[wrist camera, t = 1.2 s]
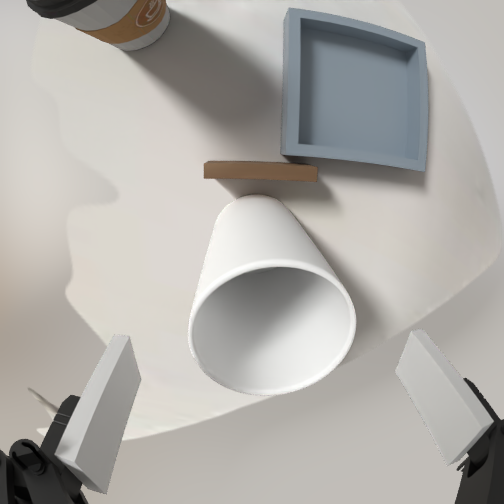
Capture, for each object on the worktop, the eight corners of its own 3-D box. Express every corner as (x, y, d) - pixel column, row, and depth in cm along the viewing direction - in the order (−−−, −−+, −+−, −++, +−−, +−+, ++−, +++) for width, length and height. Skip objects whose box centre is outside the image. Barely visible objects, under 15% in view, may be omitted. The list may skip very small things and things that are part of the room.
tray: (283, 20, 20) (288, 7, 17) (410, 48, 21) (424, 42, 18) (280, 153, 25) (285, 154, 22) (409, 168, 26) (425, 172, 23)
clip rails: (209, 160, 25) (203, 163, 21) (306, 164, 26) (317, 167, 22) (211, 299, 30) (208, 321, 27) (294, 300, 31) (301, 320, 27)
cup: (313, 225, 28) (387, 315, 13) (265, 287, 30) (287, 411, 15) (244, 177, 26) (252, 223, 11) (197, 247, 28) (159, 357, 13)
